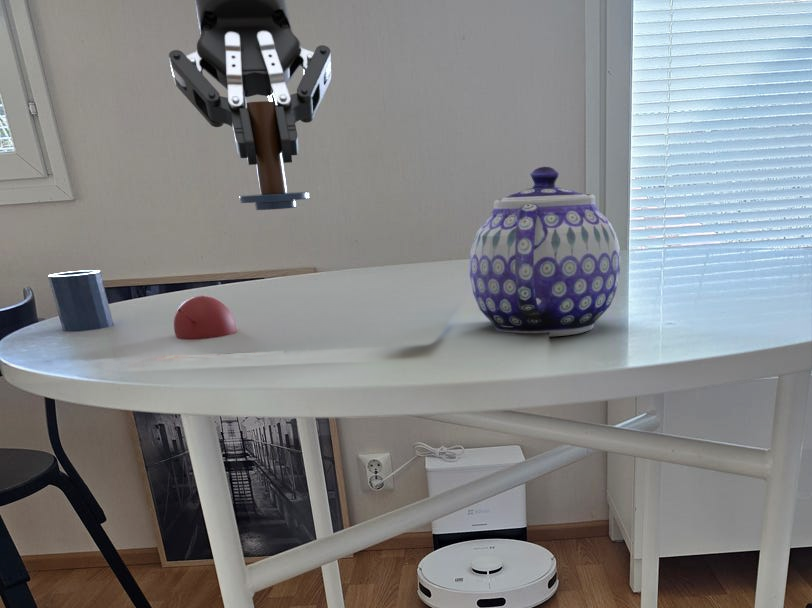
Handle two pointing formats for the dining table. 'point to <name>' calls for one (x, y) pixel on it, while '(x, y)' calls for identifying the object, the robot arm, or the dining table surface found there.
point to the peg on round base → (269, 161)
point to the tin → (81, 300)
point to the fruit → (203, 319)
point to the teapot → (545, 260)
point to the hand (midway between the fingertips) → (268, 154)
